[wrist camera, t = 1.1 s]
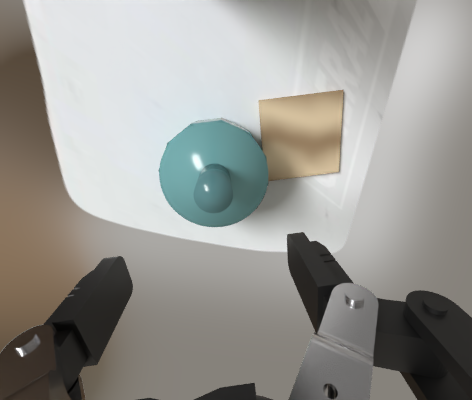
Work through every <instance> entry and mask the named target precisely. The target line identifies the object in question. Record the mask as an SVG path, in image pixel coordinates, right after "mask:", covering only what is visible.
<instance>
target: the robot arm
mask: <svg viewBox="0 0 472 400" xmlns="http://www.w3.org/2000/svg"><path fill="white" fill-rule="evenodd" d="M287 250H288V265H289V270H290V273H291V276H292V278H293V280H294V283H295V285H296V287H297V290H298V292H299V294H300V297H301V299H302V301H303V304H304V306H305V308H306V311H307V313H308V315H309V318H310V320H311V322H312V325H313V327H314V329H315V332H316V333H314V334H313V335H312V337H311V340H310V343H309V345H308V348H307V351H306V353H305V356H304V359H303V362H302V364H301V367H300V370H299V373H298V375H297V378H296V381H295V384H294V386H293V389H292V392H291V395H290V397H289V400H369V399H370V389H371V380H372V370H373V366H376V367H381V368H386V369H391V370H396V371H400V373H401V374H402V376H403V377H404V379H405V381H406V382H407V384H408V385H409V387H410V389H411V390H412V391H413V393H414V395H415V396H416V398H417V400H472V318H471V317H470V316H469V315H468V314H467V313H466V312H464V311H463V310H462V309H461V308H460V307H459V306H458V305H456V304H455V303H454V302H452V301H451V300H449V299H448V298H446V297H444V296H441V295H439V294H436V293H433V292H429V291H413V292H411V293H409V294H408V295H407V297H406V302H401V301H393V300H385V299H379V298H376V296H375V295H374V294H373V293H372V292H371V291H369V290H368V289H367V288H365V287H363V286H360V285H357V284H354V283H353V282H352V280H351V279H350V278H349V277H348V275H347V274H346V273H345V271H344V270H343V269H342V268H341V266H340V265H339V264H338V262H337V261H335V258H334V257H333V256H332V255H331V253H330V252H329V251H328V249H327V248H326V247H325V246H324V245H322V244H320V243H319V242H317V241H312V242H310V241H309V239H308V238H307V236H306V235H305V234H304V233H303V232H301V233H293V234H288V235H287ZM132 290H133V284H132V280H131V277H130V275H129V272H128V269H127V266H126V263H125V261H124V259H123V257H121V256H118V257H111V258H104V259H103V260H102V261H101V262H100V263H99V264H98V266H97V267H96V268H95V269H94V270H93V271H91V272H90V273H89V274H87V275H86V276H85V277H83V278H82V279H81V280H80V281H79V283H78V284H77V285H76V286H75V287H74V290H72V291H71V292H70V294H68V297H66V298H65V300H63V302H62V303H61V304H60V305H59V306H58V308H57V309H56V310H55V311H54V313H53V314H52V315H51V316H50V318H49V319H48V320H47V321H46V322H45V323H44V324H43V325H39V326H35V327H33V328H30V329H28V330H26V331H25V332H23V333H21V334H20V335H18V336H17V337H15V338H14V339H13V340H12V341H11V342H10V343H8V344H7V345H6V347H5V348H4V349H3V350H2V351H1V353H0V400H86V399H85V393H84V388H83V382H82V378H81V376H80V375H79V374H80V372H81V370H82V368H83V367H85V366H92V365H97V364H98V362H99V360H100V358H101V356H102V354H103V351H104V349H105V347H106V345H107V344H108V341H109V339H110V337H111V335H112V333H113V331H114V329H115V327H116V325H117V323H118V321H119V319H120V317H121V315H122V313H123V311H124V309H125V307H126V305H127V303H128V301H129V299H130V297H131V294H132ZM138 400H157V399H152V398H146V399H138ZM194 400H272V399H269V398H266V397H263V396H258V395H256V392H255V384H254V383H250V384H243V385H236V386H229V387H223V388H219V389H217V390H214V391H212V392H210V393H208V394H205V395H203V396H201V397H199V398H197V399H194Z"/></svg>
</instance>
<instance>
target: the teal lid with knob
mask: <svg viewBox="0 0 472 400" xmlns="http://www.w3.org/2000/svg"><path fill="white" fill-rule="evenodd" d="M159 176H160V184H161V188H162V191H163V194H164V196H165V198H166V200H167V201H168V203H169V204H170V206H171V207H172V208H173V209H174V210H175V211H176V212H177V213H178V214H179V215H181V216H182V217H183V218H185V219H187V220H189V221H190V222H193V223H195V224H198V225H202V226H207V227H223V226H228V225H231V224H235V223H237V222H239V221H241V220H243V219H244V218H246V217H247V216H249V215H250V214H251V213H252V212H253V211H254V210H255V209H256V208H257V207H258V205H259V204H260V203H261V201H262V199H263V197H264V195H265V193H266V189H267V186H268V165H267V157H266V155H265V154H264V153H263V151H262V150H261V148H260V146H259V145H258V144H257V142H256V141H255V140H254V138H253V137H252V135H251V134H250V132H248V131H247V130H246V129H245V128H243V127H241V126H238V125H236V124H234V123H232V122H230V121H227V120H225V119H223V118H217V119H209V120H201V121H196V122H194V123H192V124H190V125H189V126H188V127H187V128H185V129H184V130H183V131H182V132H180V133H179V134H178V135H177V136H176V137H174V138H173V139H172V140H171V141H170V142H168V143H167V146H166V150H165V151H164V154H163V156H162V159H161V163H160V168H159Z"/></svg>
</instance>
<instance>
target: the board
mask: <svg viewBox="0 0 472 400" xmlns="http://www.w3.org/2000/svg"><path fill="white" fill-rule="evenodd" d="M342 107H343V90H338V91H330V92H322V93H314V94H306V95H298V96H290V97H282V98H274V99H266V100H259V112H260V126H261V140H262V151H263V153H264V154H265V155H266V157H267V165H268V181H273V180H280V179H288V178H296V177H304V176H311V175H319V174H327V173H334V172H339V159H340V142H341V124H342Z"/></svg>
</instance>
